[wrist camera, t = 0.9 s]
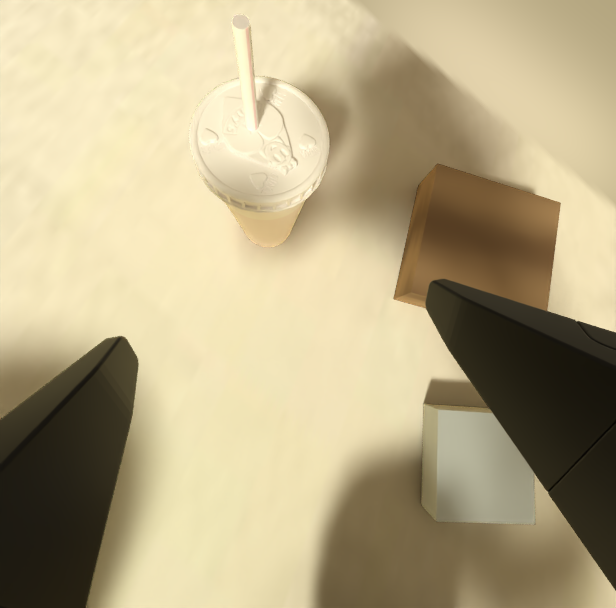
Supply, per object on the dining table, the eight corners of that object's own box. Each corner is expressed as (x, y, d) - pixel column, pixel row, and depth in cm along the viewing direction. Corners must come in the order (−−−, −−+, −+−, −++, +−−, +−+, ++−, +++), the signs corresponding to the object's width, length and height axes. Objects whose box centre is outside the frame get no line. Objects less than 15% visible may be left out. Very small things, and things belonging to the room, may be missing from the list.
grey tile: (511, 508, 21) (535, 524, 20) (421, 504, 21) (436, 521, 19) (509, 409, 23) (532, 415, 21) (423, 403, 22) (438, 409, 20)
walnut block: (510, 332, 23) (544, 330, 20) (393, 299, 23) (411, 292, 20) (527, 219, 25) (560, 202, 22) (418, 185, 24) (437, 163, 21)
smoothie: (270, 170, 23) (260, -87, 9) (325, 228, 23) (398, 54, 9) (207, 220, 22) (92, 13, 8) (265, 281, 22) (244, 174, 8)
